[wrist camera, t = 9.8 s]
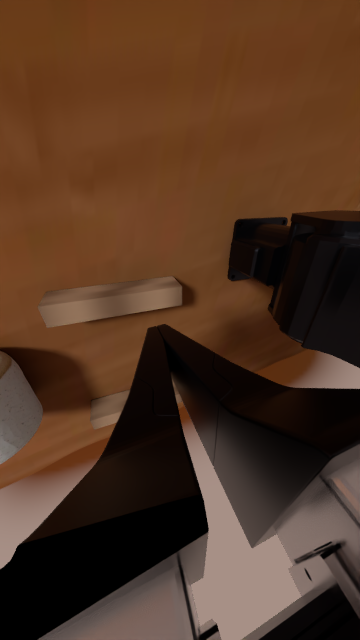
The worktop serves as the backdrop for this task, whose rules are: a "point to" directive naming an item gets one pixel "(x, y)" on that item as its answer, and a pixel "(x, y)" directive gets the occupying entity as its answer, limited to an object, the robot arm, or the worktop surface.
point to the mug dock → (105, 304)
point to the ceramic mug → (16, 408)
